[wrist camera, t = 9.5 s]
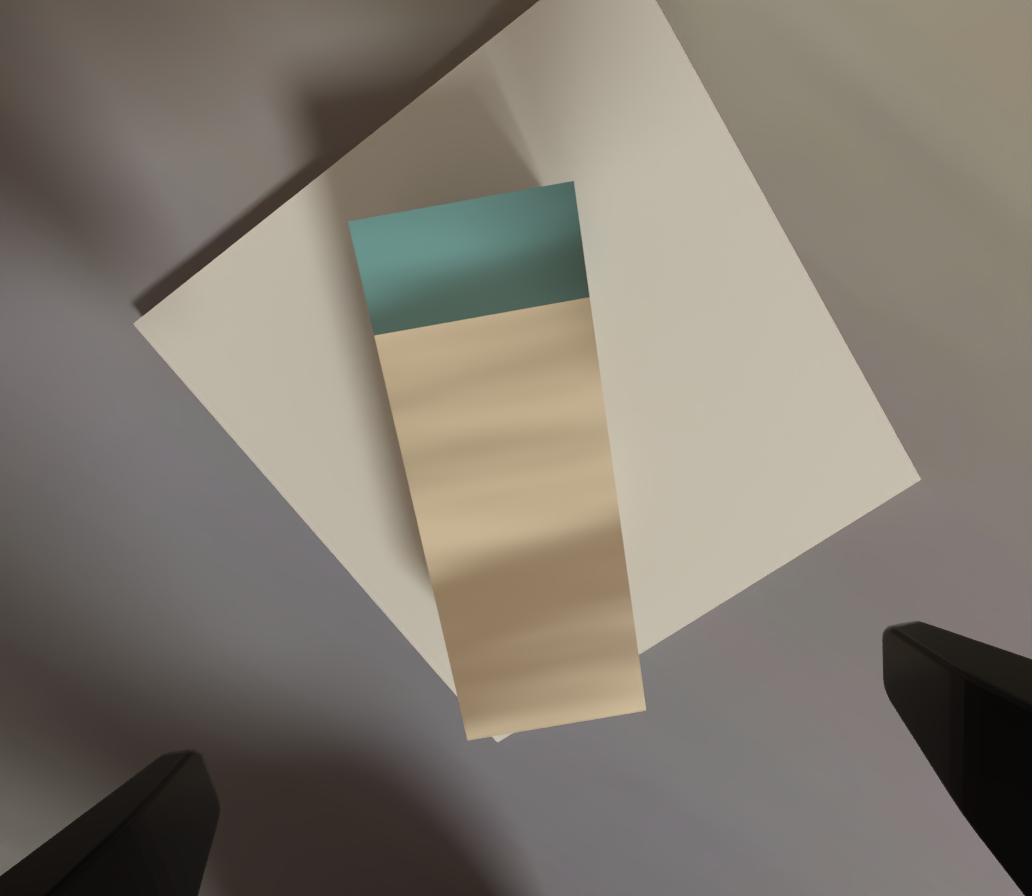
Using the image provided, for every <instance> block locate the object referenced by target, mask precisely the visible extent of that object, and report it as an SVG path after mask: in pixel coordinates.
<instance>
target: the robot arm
mask: <svg viewBox="0 0 1032 896" xmlns="http://www.w3.org/2000/svg"><path fill="white" fill-rule="evenodd" d="M882 643H883V680H884V686H885V690H886V693H887V695H888V697H889V699H890V701H891V703H892V704H893V706H894V708H895V709H896V711H897V712H898V714H899V716H900V717H901V719H902V720H903V722H904V723H905V725H906V727H907V728H908V730H909V731H910V733H911V735H912V736H913V738H914V739H915V741H916V742H917V744H918V746H919V747H920V749H921V750H922V752H923V754H924V755H925V757H926V758H927V760H928V761H929V763H930V765H931V766H932V768H933V769H934V771H935V772H936V774H937V776H938V777H939V779H940V780H941V782H942V784H943V785H944V787H945V788H946V790H947V791H948V793H949V795H950V796H951V798H952V799H953V801H954V802H955V804H956V805H957V807H958V808H959V810H960V811H961V813H962V814H963V815H964V817H965V818H966V819H967V821H968V822H969V823H970V825H971V826H972V827H973V829H974V830H975V832H976V833H977V834H978V836H979V837H980V838H981V839H982V841H983V842H984V843H985V845H986V846H987V847H988V848H989V850H990V851H991V852H992V854H993V855H994V856H995V858H996V859H997V860H998V861H999V863H1000V864H1001V865H1002V867H1003V868H1004V869H1005V871H1006V872H1007V873H1008V874H1009V876H1010V877H1011V878H1012V880H1013V881H1014V882H1015V883H1016V885H1017V886H1018V887H1019V889H1020V890H1021V891H1022V893H1023V894H1024V895H1025V896H1032V659H1029V658H1026V657H1023V656H1020V655H1017V654H1014V653H1011V652H1009V651H1006V650H1003V649H1000V648H997V647H994V646H991V645H988V644H985V643H982V642H979V641H976V640H973V639H970V638H967V637H965V636H962V635H959V634H956V633H953V632H950V631H947V630H944V629H941V628H938V627H935V626H932V625H929V624H926V623H923V622H920V621H913V622H907V623H901V624H896V625H890V626H888V627H887V628H886V629H885V630H884V632H883V638H882ZM219 812H220V803H219V798H218V794H217V792H216V789H215V786H214V784H213V781H212V779H211V776H210V773H209V771H208V768H207V766H206V763H205V760H204V758H203V756H202V754H201V753H200V752H199V751H197V750H195V749H188V750H182V751H177V752H171V753H167V754H164V755H162V756H160V757H159V758H158V759H156V760H155V761H154V762H152V763H151V764H150V765H148V766H147V767H146V768H144V769H143V770H142V771H140V772H139V773H138V774H136V775H135V776H134V777H132V778H131V779H130V780H128V781H127V782H126V783H124V784H123V785H122V786H120V787H119V788H118V789H116V790H115V791H114V792H112V793H111V794H110V795H108V796H107V797H105V798H104V799H103V800H101V801H100V802H99V803H97V804H96V805H95V806H93V807H92V808H91V809H89V810H88V811H87V812H85V813H84V814H83V815H81V816H80V817H79V818H77V819H76V820H75V821H73V822H72V823H71V824H69V825H68V826H67V827H65V828H64V829H63V830H61V831H60V832H59V833H57V834H56V835H55V836H53V837H52V838H51V839H49V840H48V841H47V842H45V843H44V844H43V845H41V846H40V847H39V848H37V849H36V850H35V851H33V852H32V853H31V854H29V855H28V856H27V857H25V858H24V859H23V860H21V861H20V862H19V863H17V864H16V865H15V866H13V867H12V868H11V869H9V870H8V871H7V872H5V873H4V874H3V875H1V876H0V896H198V893H199V889H200V886H201V882H202V878H203V875H204V871H205V867H206V863H207V860H208V856H209V852H210V849H211V845H212V841H213V838H214V834H215V830H216V827H217V823H218V819H219Z"/></svg>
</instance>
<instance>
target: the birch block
mask: <svg viewBox="0 0 1032 896" xmlns="http://www.w3.org/2000/svg"><path fill="white" fill-rule="evenodd" d="M348 224H349V229H350V233H351V237H352V242H353V246H354V250H355V255H356V259H357V263H358V268H359V272H360V276H361V281H362V285H363V289H364V294H365V298H366V302H367V307H368V311H369V315H370V320H371V324H372V328H373V333H374V337H375V341H376V346H377V350H378V354H379V359H380V363H381V367H382V372H383V376H384V380H385V385H386V389H387V393H388V398H389V402H390V406H391V411H392V415H393V419H394V424H395V428H396V432H397V437H398V441H399V445H400V450H401V454H402V458H403V463H404V467H405V471H406V476H407V480H408V484H409V489H410V493H411V497H412V502H413V506H414V510H415V515H416V519H417V523H418V528H419V532H420V536H421V541H422V545H423V549H424V554H425V558H426V562H427V567H428V571H429V575H430V580H431V584H432V588H433V593H434V597H435V601H436V606H437V610H438V614H439V619H440V623H441V627H442V632H443V636H444V640H445V645H446V649H447V653H448V658H449V662H450V666H451V671H452V675H453V679H454V684H455V688H456V692H457V697H458V701H459V705H460V710H461V714H462V718H463V723H464V727H465V731H466V736H467V740H474V739H480V738H485V737H491V736H497V735H503V734H509V733H515V732H521V731H527V730H533V729H539V728H545V727H551V726H556V725H562V724H568V723H574V722H580V721H586V720H592V719H598V718H604V717H610V716H616V715H622V714H627V713H633V712H639V711H645V710H646V705H645V698H644V691H643V683H642V676H641V669H640V661H639V654H638V647H637V639H636V632H635V625H634V618H633V610H632V603H631V596H630V588H629V581H628V574H627V566H626V559H625V552H624V544H623V537H622V530H621V522H620V515H619V508H618V500H617V493H616V486H615V478H614V471H613V464H612V457H611V449H610V442H609V435H608V427H607V420H606V413H605V405H604V398H603V391H602V383H601V376H600V369H599V361H598V354H597V347H596V339H595V332H594V325H593V318H592V310H591V303H590V296H589V288H588V281H587V274H586V266H585V259H584V252H583V244H582V237H581V230H580V222H579V215H578V208H577V200H576V193H575V186H574V181H570V182H564V183H559V184H553V185H548V186H542V187H537V188H531V189H526V190H520V191H514V192H509V193H503V194H498V195H492V196H487V197H481V198H476V199H470V200H465V201H459V202H453V203H448V204H442V205H437V206H431V207H426V208H420V209H415V210H409V211H404V212H398V213H393V214H387V215H381V216H376V217H370V218H365V219H359V220H354V221H348Z"/></svg>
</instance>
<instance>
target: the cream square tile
mask: <svg viewBox="0 0 1032 896" xmlns="http://www.w3.org/2000/svg"><path fill="white" fill-rule="evenodd" d="M570 181H574V186H575V193H576V200H577V208H578V215H579V222H580V230H581V237H582V244H583V252H584V259H585V266H586V274H587V281H588V288H589V296H590V303H591V310H592V318H593V325H594V332H595V339H596V347H597V354H598V361H599V369H600V376H601V383H602V391H603V398H604V405H605V413H606V420H607V427H608V435H609V442H610V449H611V457H612V464H613V471H614V478H615V486H616V493H617V500H618V508H619V515H620V522H621V530H622V537H623V544H624V552H625V559H626V566H627V574H628V581H629V588H630V596H631V603H632V610H633V618H634V625H635V632H636V639H637V647H638V654H641V653H642V652H644V651H646V650H647V649H649V648H650V647H652V646H654V645H655V644H657V643H658V642H660V641H662V640H663V639H665V638H667V637H668V636H670V635H671V634H673V633H675V632H676V631H678V630H679V629H681V628H683V627H684V626H686V625H687V624H689V623H691V622H692V621H694V620H696V619H697V618H699V617H700V616H702V615H704V614H705V613H707V612H708V611H710V610H712V609H713V608H715V607H716V606H718V605H720V604H721V603H723V602H725V601H726V600H728V599H729V598H731V597H733V596H734V595H736V594H737V593H739V592H741V591H742V590H744V589H745V588H747V587H749V586H750V585H752V584H754V583H755V582H757V581H758V580H760V579H762V578H763V577H765V576H766V575H768V574H770V573H771V572H773V571H774V570H776V569H778V568H779V567H781V566H783V565H784V564H786V563H787V562H789V561H791V560H792V559H794V558H795V557H797V556H799V555H800V554H802V553H803V552H805V551H807V550H808V549H810V548H812V547H813V546H815V545H816V544H818V543H820V542H821V541H823V540H824V539H826V538H828V537H829V536H831V535H832V534H834V533H836V532H837V531H839V530H841V529H842V528H844V527H845V526H847V525H849V524H850V523H852V522H853V521H855V520H857V519H858V518H860V517H861V516H863V515H865V514H866V513H868V512H870V511H871V510H873V509H874V508H876V507H878V506H879V505H881V504H882V503H884V502H886V501H887V500H889V499H890V498H892V497H894V496H895V495H897V494H899V493H900V492H902V491H903V490H905V489H907V488H908V487H910V486H911V485H913V484H915V483H916V482H918V481H919V480H921V479H920V477H919V475H918V473H917V471H916V470H915V468H914V466H913V464H912V462H911V461H910V459H909V457H908V455H907V453H906V452H905V450H904V448H903V446H902V444H901V442H900V441H899V439H898V437H897V435H896V433H895V432H894V430H893V428H892V426H891V424H890V423H889V421H888V419H887V417H886V415H885V414H884V412H883V410H882V408H881V406H880V405H879V403H878V401H877V399H876V397H875V395H874V394H873V392H872V390H871V388H870V386H869V385H868V383H867V381H866V379H865V377H864V376H863V374H862V372H861V370H860V368H859V367H858V365H857V363H856V361H855V359H854V358H853V356H852V354H851V352H850V350H849V348H848V347H847V345H846V343H845V341H844V339H843V338H842V336H841V334H840V332H839V330H838V329H837V327H836V325H835V323H834V321H833V320H832V318H831V316H830V314H829V312H828V310H827V309H826V307H825V305H824V303H823V301H822V300H821V298H820V296H819V294H818V292H817V291H816V289H815V287H814V285H813V283H812V282H811V280H810V278H809V276H808V274H807V273H806V271H805V269H804V267H803V265H802V263H801V262H800V260H799V258H798V256H797V254H796V253H795V251H794V249H793V247H792V245H791V244H790V242H789V240H788V238H787V236H786V235H785V233H784V231H783V229H782V227H781V226H780V224H779V222H778V220H777V218H776V216H775V215H774V213H773V211H772V209H771V207H770V206H769V204H768V202H767V200H766V198H765V197H764V195H763V193H762V191H761V189H760V188H759V186H758V184H757V182H756V180H755V178H754V177H753V175H752V173H751V171H750V169H749V168H748V166H747V164H746V162H745V160H744V159H743V157H742V155H741V153H740V151H739V150H738V148H737V146H736V144H735V142H734V141H733V139H732V137H731V135H730V133H729V131H728V130H727V128H726V126H725V124H724V122H723V121H722V119H721V117H720V115H719V113H718V112H717V110H716V108H715V106H714V104H713V103H712V101H711V99H710V97H709V95H708V94H707V92H706V90H705V88H704V86H703V84H702V83H701V81H700V79H699V77H698V75H697V74H696V72H695V70H694V68H693V66H692V65H691V63H690V61H689V59H688V57H687V56H686V54H685V52H684V50H683V48H682V47H681V45H680V43H679V41H678V39H677V37H676V36H675V34H674V32H673V30H672V28H671V27H670V25H669V23H668V21H667V19H666V18H665V16H664V14H663V12H662V10H661V9H660V7H659V5H658V3H657V1H656V0H539V1H538V2H537V3H536V4H534V5H533V6H532V7H531V8H529V9H528V10H527V11H525V12H524V13H523V14H522V15H520V16H519V17H518V18H517V19H515V20H514V21H513V22H512V23H510V24H509V25H508V26H507V27H505V28H504V29H503V30H502V31H500V32H499V33H498V34H497V35H495V36H494V37H493V38H492V39H490V40H489V41H488V42H487V43H485V44H484V45H483V46H482V47H480V48H479V49H478V50H477V51H475V52H474V53H473V54H471V55H470V56H469V57H468V58H466V59H465V60H464V61H463V62H461V63H460V64H459V65H458V66H456V67H455V68H454V69H453V70H451V71H450V72H449V73H448V74H446V75H445V76H444V77H443V78H441V79H440V80H439V81H438V82H436V83H435V84H434V85H433V86H431V87H430V88H429V89H428V90H426V91H425V92H424V93H423V94H421V95H420V96H419V97H417V98H416V99H415V100H414V101H412V102H411V103H410V104H409V105H407V106H406V107H405V108H404V109H402V110H401V111H400V112H399V113H397V114H396V115H395V116H394V117H392V118H391V119H390V120H389V121H387V122H386V123H385V124H384V125H382V126H381V127H380V128H379V129H377V130H376V131H375V132H374V133H372V134H371V135H370V136H368V137H367V138H366V139H365V140H363V141H362V142H361V143H360V144H358V145H357V146H356V147H355V148H353V149H352V150H351V151H350V152H348V153H347V154H346V155H345V156H343V157H342V158H341V159H340V160H338V161H337V162H336V163H335V164H333V165H332V166H331V167H330V168H328V169H327V170H326V171H325V172H323V173H322V174H321V175H320V176H318V177H317V178H316V179H314V180H313V181H312V182H311V183H309V184H308V185H307V186H306V187H304V188H303V189H302V190H301V191H299V192H298V193H297V194H296V195H294V196H293V197H292V198H291V199H289V200H288V201H287V202H286V203H284V204H283V205H282V206H281V207H279V208H278V209H277V210H276V211H274V212H273V213H272V214H271V215H269V216H268V217H267V218H266V219H264V220H263V221H262V222H260V223H259V224H258V225H257V226H255V227H254V228H253V229H252V230H250V231H249V232H248V233H247V234H245V235H244V236H243V237H242V238H240V239H239V240H238V241H237V242H235V243H234V244H233V245H232V246H230V247H229V248H228V249H227V250H225V251H224V252H223V253H222V254H220V255H219V256H218V257H217V258H215V259H214V260H213V261H212V262H210V263H209V264H208V265H206V266H205V267H204V268H203V269H201V270H200V271H199V272H198V273H196V274H195V275H194V276H193V277H191V278H190V279H189V280H188V281H186V282H185V283H184V284H183V285H181V286H180V287H179V288H178V289H176V290H175V291H174V292H173V293H171V294H170V295H169V296H168V297H166V298H165V299H164V300H163V301H161V302H160V303H159V304H158V305H156V306H155V307H154V308H152V309H151V310H150V311H149V312H147V313H146V314H145V315H144V316H142V317H141V318H140V319H139V320H137V321H136V322H135V323H134V326H135V327H136V328H137V329H138V330H139V331H140V333H141V334H142V335H143V336H144V337H145V338H146V339H147V341H148V342H149V343H150V344H151V345H152V346H153V347H154V349H155V350H156V351H157V352H158V353H159V354H160V356H161V357H162V358H163V359H164V360H165V361H166V362H167V364H168V365H169V366H170V367H171V368H172V369H173V370H174V372H175V373H176V374H177V375H178V376H179V377H180V379H181V380H182V381H183V382H184V383H185V384H186V385H187V387H188V388H189V389H190V390H191V391H192V392H193V393H194V395H195V396H196V397H197V398H198V399H199V400H200V401H201V403H202V404H203V405H204V406H205V407H206V408H207V410H208V411H209V412H210V413H211V414H212V415H213V416H214V418H215V419H216V420H217V421H218V422H219V423H220V424H221V426H222V427H223V428H224V429H225V430H226V431H227V433H228V434H229V435H230V436H231V437H232V438H233V439H234V441H235V442H236V443H237V444H238V445H239V446H240V447H241V449H242V450H243V451H244V452H245V453H246V454H247V456H248V457H249V458H250V459H251V460H252V461H253V462H254V464H255V465H256V466H257V467H258V468H259V469H260V470H261V472H262V473H263V474H264V475H265V476H266V477H267V478H268V480H269V481H270V482H271V483H272V484H273V485H274V487H275V488H276V489H277V490H278V491H279V492H280V493H281V495H282V496H283V497H284V498H285V499H286V500H287V501H288V503H289V504H290V505H291V506H292V507H293V508H294V510H295V511H296V512H297V513H298V514H299V515H300V516H301V518H302V519H303V520H304V521H305V522H306V523H307V524H308V526H309V527H310V528H311V529H312V530H313V531H314V533H315V534H316V535H317V536H318V537H319V538H320V539H321V541H322V542H323V543H324V544H325V545H326V546H327V547H328V549H329V550H330V551H331V552H332V553H333V554H334V556H335V557H336V558H337V559H338V560H339V561H340V562H341V564H342V565H343V566H344V567H345V568H346V569H347V570H348V572H349V573H350V574H351V575H352V576H353V577H354V578H355V580H356V581H357V582H358V583H359V584H360V585H361V587H362V588H363V589H364V590H365V591H366V592H367V593H368V595H369V596H370V597H371V598H372V599H373V600H374V601H375V603H376V604H377V605H378V606H379V607H380V608H381V610H382V611H383V612H384V613H385V614H386V615H387V616H388V618H389V619H390V620H391V621H392V622H393V623H394V624H395V626H396V627H397V628H398V629H399V630H400V631H401V633H402V634H403V635H404V636H405V637H406V638H407V639H408V641H409V642H410V643H411V644H412V645H413V646H414V647H415V649H416V650H417V651H418V652H419V653H420V654H421V655H422V657H423V658H424V659H425V660H426V661H427V662H428V664H429V665H430V666H431V667H432V668H433V669H434V670H435V672H436V673H437V674H438V675H439V676H440V677H441V678H442V680H443V681H444V682H445V683H446V684H447V685H448V687H449V688H450V689H451V690H452V691H453V692H454V693H455V695H456V696H457V692H456V688H455V684H454V679H453V675H452V671H451V666H450V662H449V658H448V653H447V649H446V645H445V640H444V636H443V632H442V627H441V623H440V619H439V614H438V610H437V606H436V601H435V597H434V593H433V588H432V584H431V580H430V575H429V571H428V567H427V562H426V558H425V554H424V549H423V545H422V541H421V536H420V532H419V528H418V523H417V519H416V515H415V510H414V506H413V502H412V497H411V493H410V489H409V484H408V480H407V476H406V471H405V467H404V463H403V458H402V454H401V450H400V445H399V441H398V437H397V432H396V428H395V424H394V419H393V415H392V411H391V406H390V402H389V398H388V393H387V389H386V385H385V380H384V376H383V372H382V367H381V363H380V359H379V354H378V350H377V346H376V341H375V337H374V333H373V328H372V324H371V320H370V315H369V311H368V307H367V302H366V298H365V294H364V289H363V285H362V281H361V276H360V272H359V268H358V263H357V259H356V255H355V250H354V246H353V242H352V237H351V233H350V229H349V224H348V221H354V220H359V219H365V218H370V217H376V216H381V215H387V214H393V213H398V212H404V211H409V210H415V209H420V208H426V207H431V206H437V205H442V204H448V203H453V202H459V201H465V200H470V199H476V198H481V197H487V196H492V195H498V194H503V193H509V192H514V191H520V190H526V189H531V188H537V187H542V186H548V185H553V184H559V183H564V182H570ZM510 734H512V733H509V734H503V735H497V736H492V737H493V738H494V739H495V741H496V742H499V741H501V740H502V739H504V738H505V737H507V736H509V735H510Z"/></svg>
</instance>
